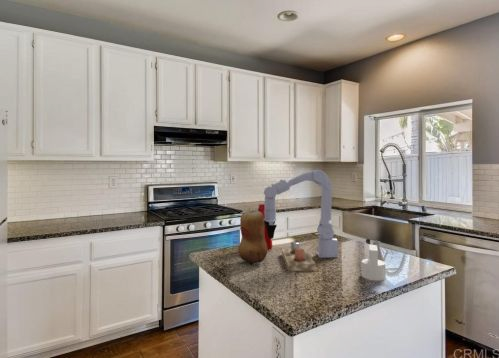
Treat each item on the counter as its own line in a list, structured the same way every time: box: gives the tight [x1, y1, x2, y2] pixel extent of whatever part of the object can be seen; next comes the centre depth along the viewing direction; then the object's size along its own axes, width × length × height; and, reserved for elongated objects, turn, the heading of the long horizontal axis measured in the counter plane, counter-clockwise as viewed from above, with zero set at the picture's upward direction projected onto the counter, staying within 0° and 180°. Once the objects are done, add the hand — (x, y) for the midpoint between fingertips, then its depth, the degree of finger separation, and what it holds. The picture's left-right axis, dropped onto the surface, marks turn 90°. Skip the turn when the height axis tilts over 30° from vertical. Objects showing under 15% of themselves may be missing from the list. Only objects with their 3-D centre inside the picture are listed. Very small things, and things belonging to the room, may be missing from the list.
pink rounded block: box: [295, 247, 305, 261], centre depth 138 cm, size 4×4×4 cm
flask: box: [372, 240, 385, 262], centre depth 142 cm, size 7×7×10 cm
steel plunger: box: [290, 241, 300, 253], centre depth 150 cm, size 4×4×4 cm
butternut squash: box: [238, 209, 269, 265], centre depth 143 cm, size 14×13×25 cm
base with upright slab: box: [361, 244, 386, 282], centre depth 124 cm, size 9×9×12 cm
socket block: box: [281, 248, 316, 272], centre depth 144 cm, size 12×24×3 cm, turn 0°
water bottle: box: [256, 203, 273, 251], centre depth 168 cm, size 9×11×25 cm
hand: (270, 236), depth 154 cm, fingers open, 7 cm apart
